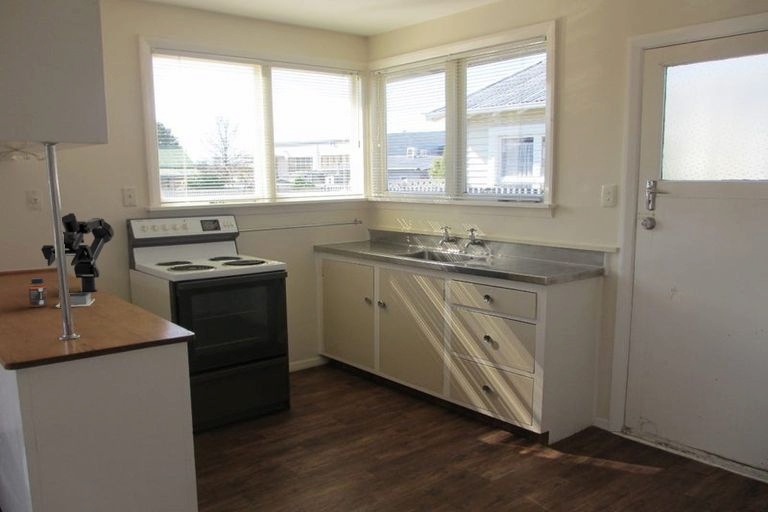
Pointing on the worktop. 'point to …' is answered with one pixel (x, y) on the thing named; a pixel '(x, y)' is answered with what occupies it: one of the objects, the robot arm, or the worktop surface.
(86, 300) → the square collar
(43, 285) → the supplement bottle
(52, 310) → the worktop surface
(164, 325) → the worktop surface
